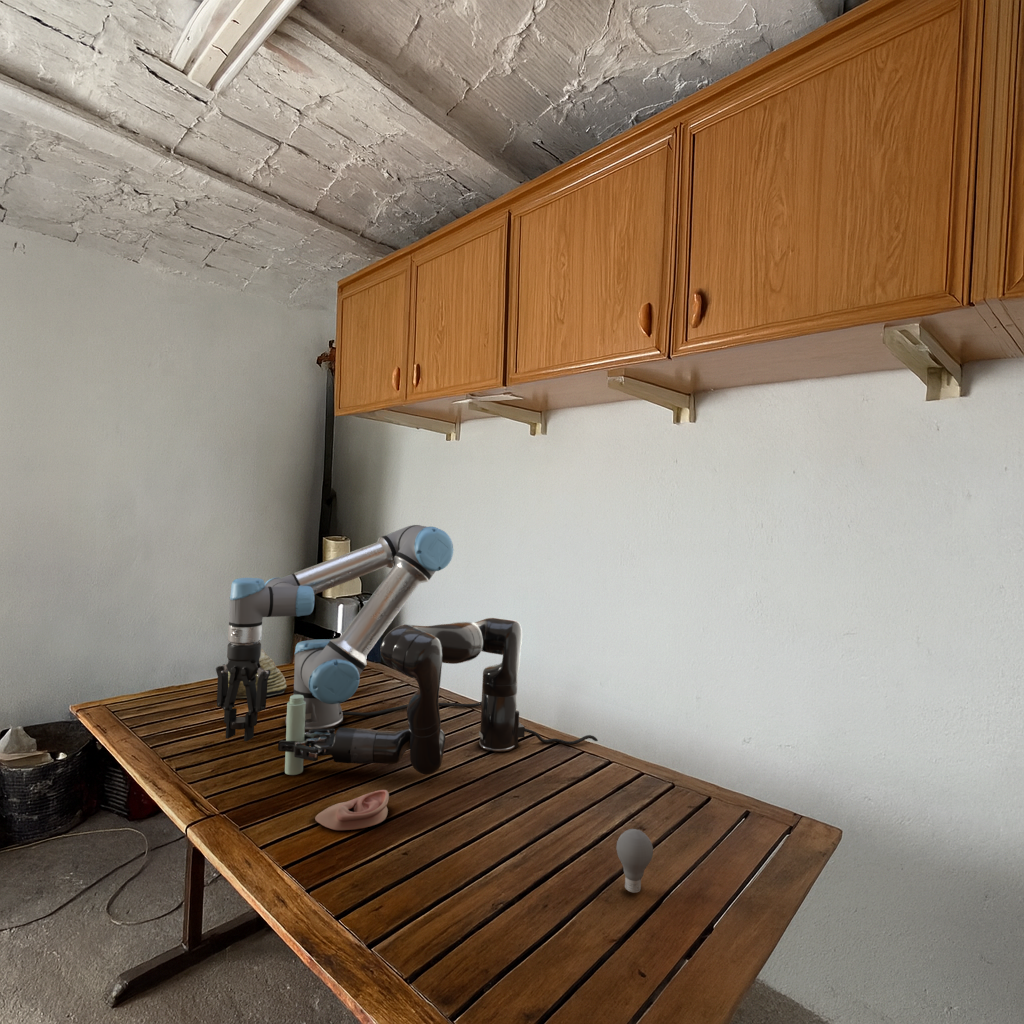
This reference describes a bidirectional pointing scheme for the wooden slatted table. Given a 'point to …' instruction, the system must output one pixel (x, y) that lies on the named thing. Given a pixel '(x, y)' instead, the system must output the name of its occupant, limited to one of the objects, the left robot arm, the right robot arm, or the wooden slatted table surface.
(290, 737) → the pale green cylinder
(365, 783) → the wooden slatted table surface
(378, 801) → the anatomical model
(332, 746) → the right robot arm
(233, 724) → the lid
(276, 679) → the fossil
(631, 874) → the light bulb
